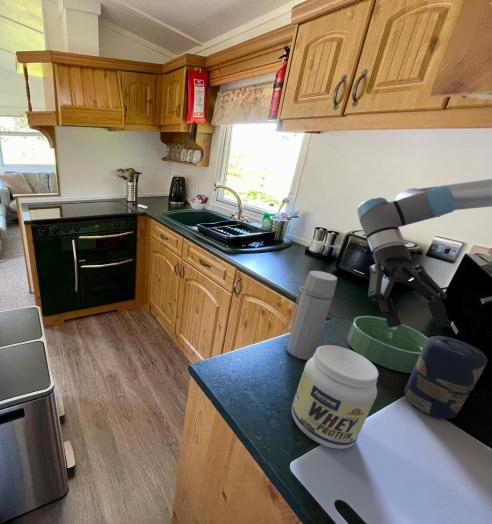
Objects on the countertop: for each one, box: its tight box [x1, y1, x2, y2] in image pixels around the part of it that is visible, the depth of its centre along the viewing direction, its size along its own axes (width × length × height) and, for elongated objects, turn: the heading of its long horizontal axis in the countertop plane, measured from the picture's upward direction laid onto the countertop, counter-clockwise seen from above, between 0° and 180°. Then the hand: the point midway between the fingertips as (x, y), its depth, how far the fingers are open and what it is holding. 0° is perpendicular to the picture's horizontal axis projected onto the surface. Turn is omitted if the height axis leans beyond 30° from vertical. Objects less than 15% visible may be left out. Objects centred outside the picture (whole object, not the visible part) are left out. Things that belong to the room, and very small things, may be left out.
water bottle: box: [285, 270, 338, 361], centre depth 81 cm, size 9×8×25 cm
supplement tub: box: [291, 344, 379, 450], centre depth 59 cm, size 12×12×17 cm
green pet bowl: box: [346, 315, 430, 374], centre depth 87 cm, size 19×19×7 cm
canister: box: [403, 335, 488, 420], centre depth 66 cm, size 10×10×18 cm
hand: (420, 326), depth 71 cm, fingers open, 13 cm apart
